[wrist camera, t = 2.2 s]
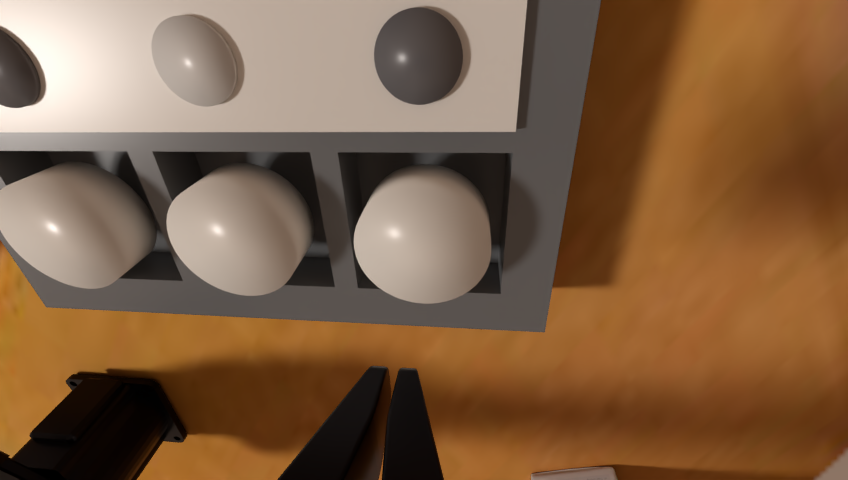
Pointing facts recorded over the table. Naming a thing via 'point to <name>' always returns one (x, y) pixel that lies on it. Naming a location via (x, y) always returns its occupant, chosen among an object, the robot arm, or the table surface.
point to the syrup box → (578, 474)
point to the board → (307, 131)
